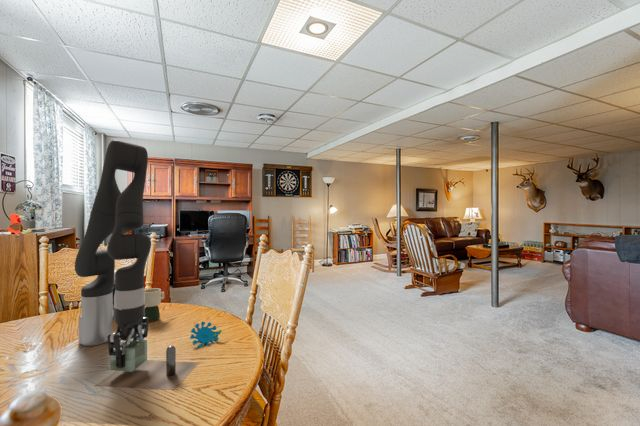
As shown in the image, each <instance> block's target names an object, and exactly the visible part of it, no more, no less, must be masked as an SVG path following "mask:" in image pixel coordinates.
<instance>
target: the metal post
mask: <svg viewBox="0 0 640 426" xmlns="http://www.w3.org/2000/svg"><path fill="white" fill-rule="evenodd" d="M176 350H177V349H176V347H175V346H174V345H168V346H167V348H166V351H165V353H166V354H165V355H166V356H165V357H166V358H165V361H166V376H168V377H171V376H174V375H175V374H176V362H177V360H176V356H177V355H176V352H177V351H176Z"/></svg>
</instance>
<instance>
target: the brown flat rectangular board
mask: <svg viewBox="0 0 640 426" xmlns="http://www.w3.org/2000/svg"><path fill="white" fill-rule="evenodd" d="M199 364H200V362H194V361H188V362H187V361H176V374H175V375H174V376H171V377H168V376H166V360H153V359H152V360H151V359H147V360H146V361H145V362H144V363H143V364H141V365H140V366H139V367H138V368H136V369H135V370H134V371H132V372H130V371H115V370H114V371H113V372H112V373H110V374H109V375H108V376H106V377H105V378H104V379H102V380H101V381H99V382H98V383H97V384H96V385H95V387H110V388H111V387H112V388H126V389H127V388H128V389H129V388H130V389H131V388H132V389H147V390H149V389H150V390H166V391H167V390H168V391H170V390H171V391H175V390H176V389H177V388H178V387H179V386H180V384H181V383H182V382H183V381H184V380H185V379H186V378H187V377H188V376H189V375H190V374H191V372H193V370H194V369H195V368H196V367H197V366H198V365H199Z"/></svg>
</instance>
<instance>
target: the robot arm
mask: <svg viewBox="0 0 640 426" xmlns="http://www.w3.org/2000/svg"><path fill="white" fill-rule="evenodd" d="M105 151H106V153H105V154H104V155H105V156H104V161H103V167H102V171H101V177H100V181H99V185H98V188H97V192H96V194H95V197H94V200H93V203H92V208H91V211H90V216H89V219H88V223H87V228H86V231H85V234H84V237H83V240H82V241H81V244H80V247H79V249H78V251H77V254H76V256H75V261H74V272H75V273H76V275H77V276H78V277H80V278H89V277H95V276H97V277H96V278H95V279H94V280H93V281H91V282H89V283H87V284H86V285H84V286H82V288H81V291H80V302H81V303H80V305H81V306H80V309H81V310H80V313H81V315H80V316H78V344H79V345H82V346H84V347H92V346H98V345H102V344H106V343H107V348H108V355H109V356H110V357H111V356H116V367H117V368H123V367H125V352H126V348H127V346H128V345H129V344H130V341H131V339H133V340H135V339H136V340H145V338H146V339H147V337H148V333H149V322H150V321H149V318H148V317H145V292H144V290H145V269H146V264H147V261H148V257H149V255H150V252H151V249H152V241H151V238H150V237H149V235H147V234H145V233H133V234H130V233H129V234H126V233H128V232H132V231H135V230H138V229H141V228H142V227H143V226H144V204H143V203H144V191H145V188H146V187H145V185H146V178H147V170H148V160H149V159H148V158H149V156H148V155H149V154H148V151H147V148H146V147H144V146H141V145H139V144H135V143H131V142H128V141H125V140H119V139H112V140H110V142H109V143H108V145H107V148H106V150H105ZM117 170H119V171H125V172H130V173H134V174H133V179H132V180H131V182H130V183H129V184H128V185H127V186H126V187H125V189H123V190H122V192H121V191H120V189H119V185H118V184H117V180H116V171H117ZM109 237H110V238H109ZM108 238H109V239H108ZM106 239H108V240H109V241H108V243H107V247H106V248H100V249H99V247H100V246H101V244H103V242H105V241H106ZM133 259H136V261H134V263H133V264H131V265H127V266H123V267H119V268H117V269H116V270H117V271H116V273H115V295H114V319H113V285H114V270H115V268H116V264H115V263H116V262H115V261H116V260H117V261H120V260H133ZM113 322H114V323H115V324H116V326H117V327H116V331H115V332H114V331H113V330H114V325H113V324H114V323H113ZM123 341H126V342H123ZM121 345H122V346H123V347H122V350H120V346H121ZM114 348H115V350H114Z"/></svg>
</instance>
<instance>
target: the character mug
mask: <svg viewBox="0 0 640 426" xmlns="http://www.w3.org/2000/svg"><path fill="white" fill-rule="evenodd" d="M144 292H145V317H148V318H149V322H154V321H157V320H160V318H161V316H160V315H161V314H160V309H159V306H160V305H161V302H162V300H164V299H165V291H162V289H161V288H158V287H157V288H156V287H153V288H146V289H144Z"/></svg>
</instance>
